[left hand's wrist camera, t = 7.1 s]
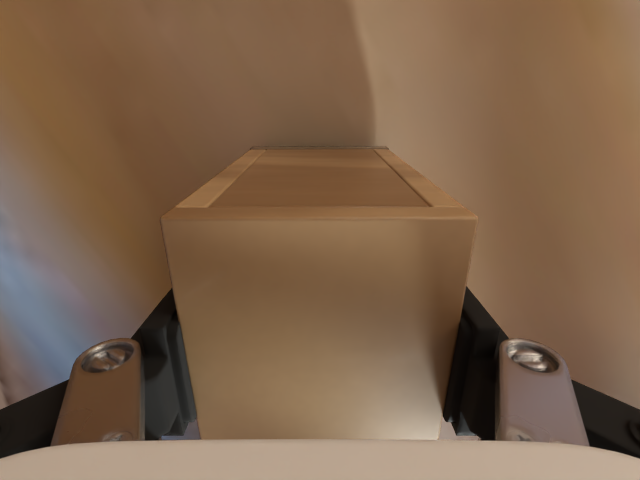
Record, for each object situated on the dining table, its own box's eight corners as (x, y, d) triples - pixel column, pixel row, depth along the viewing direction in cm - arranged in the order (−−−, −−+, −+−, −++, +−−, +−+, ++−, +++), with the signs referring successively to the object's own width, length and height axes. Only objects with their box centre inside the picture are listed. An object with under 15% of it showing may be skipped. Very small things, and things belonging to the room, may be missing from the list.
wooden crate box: (366, 435, 25) (398, 667, 15) (273, 435, 25) (242, 667, 15) (386, 146, 17) (480, 216, 7) (252, 146, 17) (157, 216, 7)
